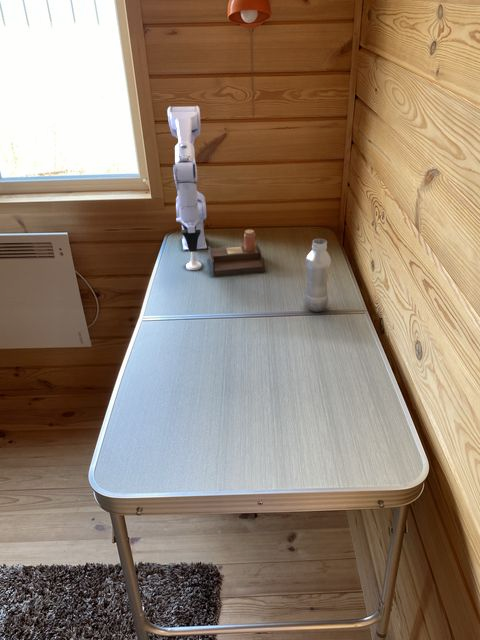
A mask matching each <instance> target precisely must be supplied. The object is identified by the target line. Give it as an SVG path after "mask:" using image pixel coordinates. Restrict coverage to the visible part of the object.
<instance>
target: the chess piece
mask: <svg viewBox="0 0 480 640" xmlns="http://www.w3.org/2000/svg"><path fill="white" fill-rule="evenodd" d="M188 252H189V253H190V261H189V262H187V263H186V264H185V269H187V270H189V271H197V270H200V269H201V268H202V263H201V262H199V261H197V259H196V255H195V252H190V251H189V250H188Z"/></svg>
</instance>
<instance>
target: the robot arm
mask: <svg viewBox="0 0 480 640" xmlns="http://www.w3.org/2000/svg"><path fill="white" fill-rule="evenodd" d="M167 120H168V126H169V129H170V133H171V136H172V137H175V138H176V139H178V142H177V143H176V145H175V146H174V162H175V163H174V164H173V167H172V168H173V178H174V183H175V187H176V191H177V196H176V198H175V212H176V213H175V214H176V219H175V220H176V222H177V223H180V224H181V234H182V239H181V242H182V243H181V244H182V249H183V251H188V252H189V251H190V252H189V253H191V252H194V253H196V252H197V250H204V249H206V250H207V248H208V246H207V242H206V237H205V230H204V221H205V220H206V219H207V203H206V197H205V195H204V194H202V193H201V192H199V191H198V189H197V186H198V185H197V183H198V167H197V162H196V153H195V152H196V151H195V146H194V144H195V141H196V138H197V137H199V136H200V135H201V131H202V130H201V125H202V124H201V110H200V107H199V106H198V105H195V106H194V105H193V106H191V105H190V106H170V105H169V106H168V108H167Z"/></svg>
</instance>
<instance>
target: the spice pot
mask: <svg viewBox="0 0 480 640" xmlns="http://www.w3.org/2000/svg"><path fill="white" fill-rule="evenodd" d="M255 245H256V233H255V230H253V229H246V230H244V233H243V246H244V250H245V251H247V252H252V251H254V250H255Z"/></svg>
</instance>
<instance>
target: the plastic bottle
mask: <svg viewBox="0 0 480 640" xmlns="http://www.w3.org/2000/svg"><path fill="white" fill-rule="evenodd" d="M327 244H328V241H327V239H325V238H315V239H313V240H312V243H311V251H310V252H309V253H307V255H306V258H305V266H306V290H305V292H304V293H305V294H304V298H303V302H304V306H305V308H306V309H307V310H308V311H310V312H316V313H317V312H318V313H319V312H323V311H325V310H326V309H327V307H328V305H329V294H328V279H329V272H330V268H331V264H332V263H331V262H332V259H331V256H330V254H329V252H328V251H327V249H328V245H327Z"/></svg>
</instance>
